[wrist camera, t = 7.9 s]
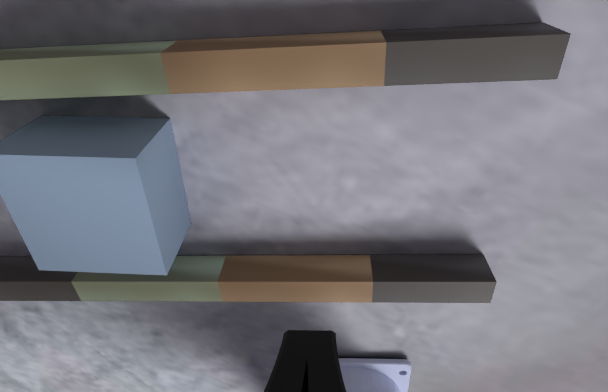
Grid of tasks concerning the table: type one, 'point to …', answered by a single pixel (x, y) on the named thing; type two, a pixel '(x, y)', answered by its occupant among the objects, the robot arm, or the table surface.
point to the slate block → (96, 193)
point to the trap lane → (278, 76)
